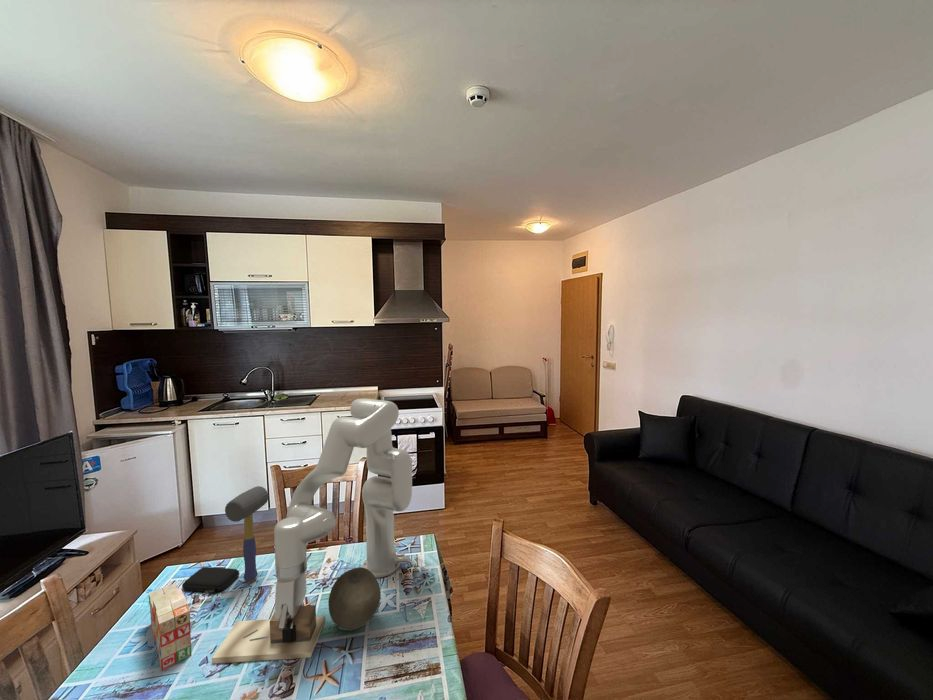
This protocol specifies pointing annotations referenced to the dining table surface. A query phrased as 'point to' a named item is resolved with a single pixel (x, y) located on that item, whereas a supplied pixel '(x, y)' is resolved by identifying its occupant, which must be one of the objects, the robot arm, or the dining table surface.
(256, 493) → the rubber mallet
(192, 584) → the carrying case or bag
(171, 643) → the stack of blocks
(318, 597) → the dining table surface
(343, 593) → the cantaloupe
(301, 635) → the sanding block
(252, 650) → the birch board
